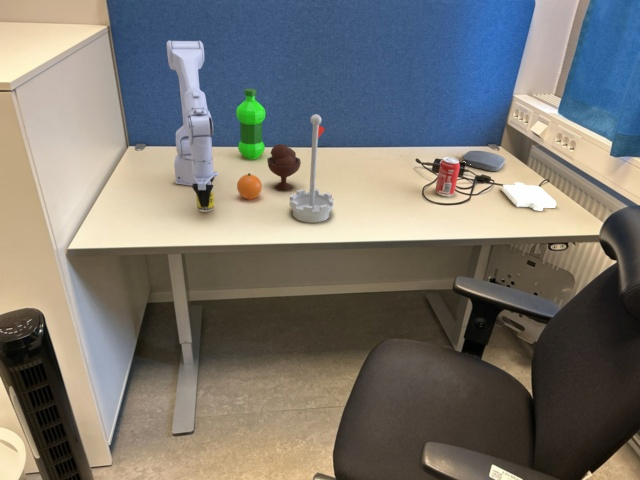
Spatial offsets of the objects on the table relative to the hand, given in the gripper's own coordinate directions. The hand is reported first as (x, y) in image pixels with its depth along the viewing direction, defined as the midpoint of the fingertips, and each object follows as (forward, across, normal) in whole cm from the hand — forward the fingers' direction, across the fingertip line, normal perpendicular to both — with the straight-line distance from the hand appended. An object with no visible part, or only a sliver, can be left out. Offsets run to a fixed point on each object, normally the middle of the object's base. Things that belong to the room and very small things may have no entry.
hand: (205, 202), depth 137 cm
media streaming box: (+3, +38, -106) cm, 112 cm away
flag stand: (+3, -3, -31) cm, 31 cm away
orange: (+3, +9, -13) cm, 16 cm away
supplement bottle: (+2, 0, 0) cm, 2 cm away
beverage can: (+3, +11, -78) cm, 79 cm away
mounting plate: (+3, +6, -106) cm, 107 cm away
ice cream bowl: (+3, +17, -24) cm, 30 cm away
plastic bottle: (+3, +45, -14) cm, 47 cm away
